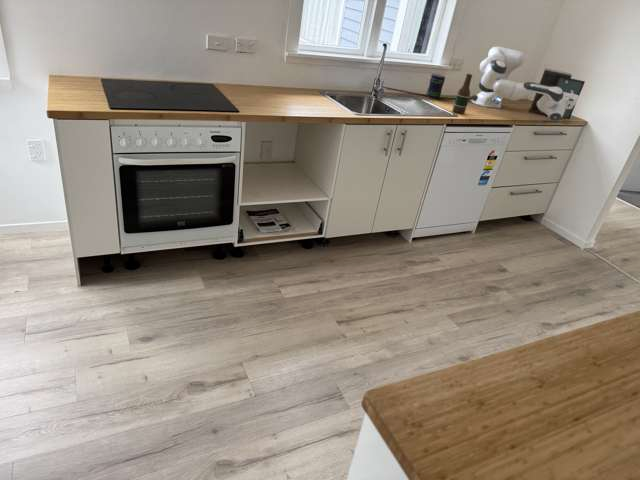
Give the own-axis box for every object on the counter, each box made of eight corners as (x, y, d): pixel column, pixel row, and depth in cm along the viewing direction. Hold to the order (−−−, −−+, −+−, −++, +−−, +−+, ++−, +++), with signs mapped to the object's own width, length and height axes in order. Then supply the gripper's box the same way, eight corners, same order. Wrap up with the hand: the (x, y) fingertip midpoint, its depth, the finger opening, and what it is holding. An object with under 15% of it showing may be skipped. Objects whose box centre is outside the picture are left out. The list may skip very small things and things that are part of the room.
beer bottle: (457, 114, 306) (468, 75, 294) (449, 110, 312) (460, 72, 300) (466, 114, 309) (478, 76, 298) (459, 111, 315) (470, 73, 304)
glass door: (569, 121, 338) (585, 82, 325) (544, 115, 343) (559, 77, 330) (569, 119, 346) (584, 81, 333) (544, 113, 351) (559, 75, 338)
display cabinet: (554, 118, 348) (571, 75, 334) (529, 111, 353) (544, 69, 339) (554, 115, 360) (571, 73, 345) (530, 109, 365) (545, 67, 350)
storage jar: (436, 99, 337) (442, 77, 330) (423, 96, 341) (429, 74, 334) (441, 98, 345) (447, 76, 337) (428, 94, 349) (434, 73, 341)
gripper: (542, 102, 327) (546, 89, 334) (574, 109, 321) (577, 96, 328) (545, 94, 322) (549, 82, 329) (577, 102, 316) (581, 89, 323)
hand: (564, 89), depth 328 cm, fingers open, 8 cm apart
